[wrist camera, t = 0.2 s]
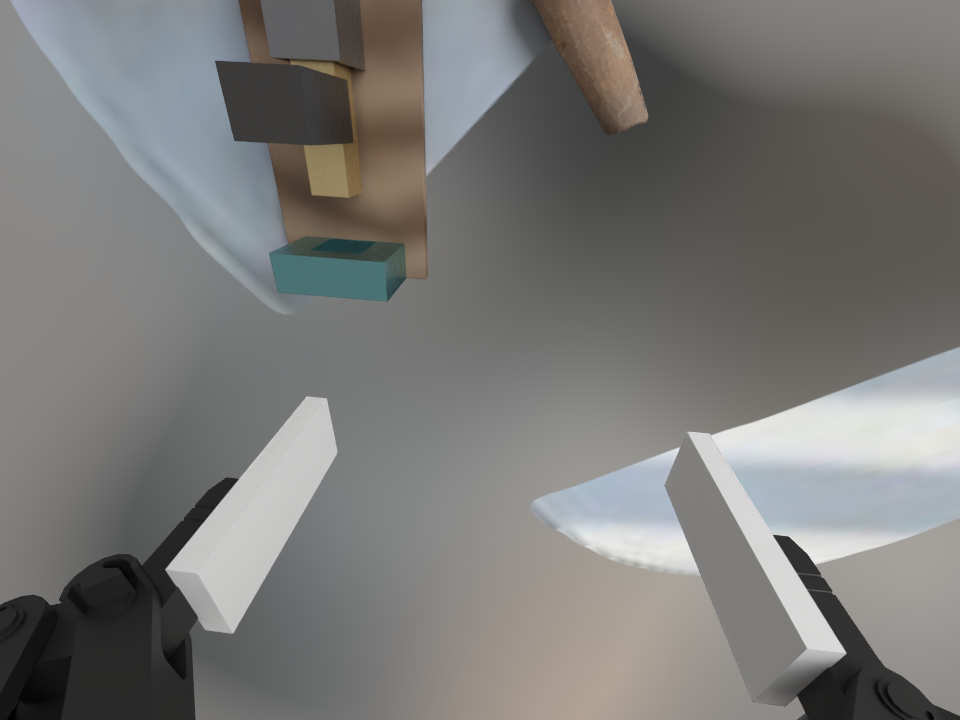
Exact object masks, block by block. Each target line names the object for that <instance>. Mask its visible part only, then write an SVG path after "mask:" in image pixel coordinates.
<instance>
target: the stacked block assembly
mask: <svg viewBox="0 0 960 720" xmlns="http://www.w3.org/2000/svg"><path fill="white" fill-rule="evenodd" d="M260 1H261V7H262V12H263V18H264V23H265V29H266V34H267V40H268V45H269V51H270V56H271V57H272V58H275V59H278V60H281V61H285V62H288V63H290V59H296V60H317V61H336V62H339V63H341V64H344V65H347V66H349V67H350V69H351V70H357V71H366V69H365V57H364V45H363V33H362V21H361V9H360V0H260ZM269 255H270V259H271V264H272V268H273V272H274V277H275V281H276V285H277V290H278V292H280V293H292V294H304V295H316V296H328V297H340V298H351V299H363V300H376V301H388V300H389V299H390V298H391V296H392V295H393V294H394V293H395V291H396V290H397V289H398V288H399V286H400V285H401V284H402V283H403V282H404V280H405V279H406V258H405V243H394V242H380V241H367V240H354V239H341V238H327V237H314V236H305V237H303V238H301V239H298V240H296V241H294V242H292V243H290V244H288V245H286V246H284V247H281V248H279V249H277V250H275V251H273V252H271V253H269Z"/></svg>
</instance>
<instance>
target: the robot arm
mask: <svg viewBox="0 0 960 720" xmlns="http://www.w3.org/2000/svg"><path fill="white" fill-rule="evenodd" d="M337 453H338V452H337V447H336V442H335V437H334V432H333V427H332V423H331V418H330V413H329V408H328V403H327V399H326V398H317V397H306V398H305V400H304V401H303V402H302V403H301V404H300V406H299V407H298V408H297V409H296V410H295V412H294V413H293V414H292V415H291V417H290V418H289V419H288V420H287V422H286V423H285V424H284V425H283V426H282V427H281V429H280V430H279V431H278V432H277V434H276V435H275V436H274V437H273V439H272V440H271V441H270V442H269V443H268V445H267V446H266V447H265V448H264V449H263V451H262V452H261V453H260V454H259V456H258V457H257V458H256V459H255V460H254V462H253V463H252V464H251V465H250V467H249V468H248V469H247V470H246V472H245V473H244V474H243V475H242V476H241V478H240V479H236V478H225V479H224V480H222V481H221V482H219V483H218V484H217V485H215V486H214V487H212V488H211V489H209V490H208V491H207V493H206V494H205V495H204V496H203V497H202V498H201V499H200V500H199V502H198V503H197V504H196V505H195V508H192V510H191V511H190V512H189V513H188V514H187V515H186V516H185V518H184V521H181V522H180V523H179V524H178V525H177V527H176V528H175V529H174V530H173V531H172V532H171V534H170V535H169V536H168V537H167V538H166V539H165V540H164V541H163V542H162V544H161V545H160V546H159V547H158V548H157V549H156V550H155V552H154V553H153V554H152V555H151V556H150V557H149V558H148V560H147V561H146V562H145V563H144V564H143V565H141V564H140V563H139V561H138V560H137V558H135V557H133V556H131V555H129V554H117V555H113V556H110V557H106V558H103V559H101V560H99V561H97V562H95V563H93V564H91V565H89V566H88V567H87V568H85V569H84V570H83V571H81V572H80V573H79V574H77V575H76V576H75V577H74V578H73V579H72V580H71V581H70V582H69V583H68V585H67V586H66V587H65V588H64V590H63V592H62V594H61V596H60V598H59V600H60V602H62V603H60V604H56V605H49V603H48V602H47V601H46V600H44V598H42V597H39V596H36V595H29V596H21V597H18V598H15V599H13V600H10V601H8V602H5V603H3V604H1V605H0V720H195V702H194V682H193V662H192V644H191V643H192V642H191V637H190V634H189V631H190V630H191V628H192V627H193V625H194V623H195V622H196V621H197V619H198V620H199V621H200V623H201V624H202V626H203V627H204V629H205V630H210V631H218V632H225V633H233V632H234V631H235V629H236V627H237V626H238V624H239V622H240V621H241V619H242V617H243V615H244V614H245V612H246V610H247V608H248V607H249V605H250V603H251V601H252V600H253V598H254V596H255V595H256V593H257V591H258V589H259V587H260V586H261V584H262V582H263V581H264V579H265V577H266V576H267V573H268V572H269V570H270V568H271V567H272V565H273V563H274V562H275V560H276V558H277V557H278V555H279V553H280V551H281V549H282V548H283V546H284V544H285V543H286V541H287V539H288V537H289V536H290V534H291V532H292V531H293V529H294V527H295V525H296V524H297V522H298V520H299V518H300V516H301V515H302V513H303V512H304V510H305V508H306V506H307V505H308V503H309V501H310V499H311V498H312V496H313V494H314V492H315V491H316V489H317V487H318V486H319V484H320V482H321V480H322V479H323V477H324V475H325V473H326V472H327V470H328V468H329V467H330V465H331V463H332V461H333V460H334V458H335V456H336V454H337ZM665 488H666V490H667V493H668V495H669V498H670V500H671V503H672V505H673V508H674V510H675V513H676V515H677V517H678V520H679V522H680V525H681V527H682V530H683V532H684V535H685V537H686V540H687V542H688V545H689V547H690V550H691V552H692V554H693V557H694V559H695V562H696V564H697V567H698V569H699V572H700V574H701V577H702V579H703V582H704V584H705V587H706V589H707V591H708V594H709V596H710V599H711V601H712V604H713V606H714V609H715V611H716V614H717V616H718V619H719V621H720V624H721V626H722V629H723V631H724V633H725V636H726V638H727V641H728V643H729V646H730V648H731V651H732V653H733V656H734V658H735V661H736V663H737V666H738V668H739V670H740V673H741V675H742V678H743V680H744V683H745V685H746V688H747V690H748V692H749V695H750V698H751V700H752V702H755V703H763V704H770V705H778V706H787V705H788V704H789V703H790V702H791V701H792V700H794V698H796V697H797V696H798V698H799V700H800V702H801V704H802V706H803V708H804V710H805V714H804V715H803V716H801V717H800V718H799V719H797V720H960V716H958V715H956V714H954V713H951V712H949V711H946V710H944V709H942V708H940V707H937V706H935V705H933V704H932V703H931V702H930V701H929V700H928V699H927V698H926V697H925V696H924V695H923V694H922V693H921V691H920V690H919V689H917V688H916V687H915V686H914V685H912V684H911V683H910V682H909V681H907V680H906V679H905V678H903V677H902V676H901V675H899V674H896V673H895V672H893V671H891V670H889V669H887V668H885V666H884V665H883V664H882V663H881V661H880V660H879V659H878V657H877V656H876V654H875V653H874V651H873V650H872V649H871V647H870V646H869V644H868V643H867V641H866V640H865V638H864V637H863V635H862V634H861V632H860V631H859V630H858V628H857V626H856V625H855V624H854V622H853V621H852V619H851V618H850V616H849V615H848V613H847V612H846V610H845V609H844V607H843V606H842V604H841V603H840V601H839V600H838V598H837V597H836V595H833V594H832V590H831V588H830V587H829V585H828V584H827V582H826V581H825V579H824V578H822V577H821V573H820V572H819V570H818V569H817V567H816V566H815V565H814V563H813V562H812V560H811V559H810V557H809V556H808V554H807V553H806V552H804V551H803V550H802V549H801V548H800V547H799V546H798V545H797V544H796V543H795V542H794V541H793V540H792V539H791V538H790V537H788V536H779V535H772V533H771V532H770V530H769V528H768V527H767V525H766V524H765V522H764V520H763V519H762V517H761V516H760V514H759V512H758V511H757V509H756V508H755V506H754V504H753V503H752V501H751V500H750V498H749V496H748V495H747V493H746V492H745V490H744V488H743V487H742V485H741V484H740V482H739V480H738V479H737V477H736V476H735V474H734V472H733V471H732V469H731V468H730V466H729V464H728V463H727V461H726V460H725V458H724V456H723V455H722V453H721V451H720V450H719V448H718V447H717V445H716V443H715V442H714V440H713V439H712V437H711V435H710V434H707V433H696V432H687V433H686V436H685V438H684V440H683V443H682V445H681V447H680V450H679V452H678V454H677V457H676V459H675V462H674V464H673V466H672V469H671V471H670V473H669V476H668V478H667V481H666V483H665Z"/></svg>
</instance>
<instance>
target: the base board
mask: <svg viewBox="0 0 960 720" xmlns="http://www.w3.org/2000/svg"><path fill="white" fill-rule="evenodd" d="M239 3H240V8H241V13H242V18H243V23H244V28H245V33H246V38H247V43H248V47H249V52H250V57H251V62H252V63H268V64H288V65H291V64H290V63H288V62H285V61H281V60H278V59H275V58H272V57H271V56H270V51H269V45H268V40H267V34H266V29H265V23H264V18H263V12H262V7H261V1H260V0H239ZM360 9H361V21H362V33H363V45H364V57H365V69H366V71H357V70H351V80H352V90H353V100H354V110H355V120H356V130H357V140H358V150H359V160H360V170H361V180H362V190H363V193H360V194H358V195H355V196H352V197H350V198H346V197H332V196H318V195H312V193H311V187H310V181H309V175H308V168H307V162H306V156H305V150H304V145H294V144H278V143H268V145H269V150H270V155H271V160H272V165H273V170H274V175H275V180H276V185H277V189H278V194H279V199H280V204H281V209H282V214H283V219H284V224H285V229H286V234H287V238H288V243H289V244H290V243H292V242H294V241H296V240H298V239H301V238H303V237H305V236H314V237H327V238H341V239H354V240H367V241H380V242H394V243H405V258H406V278H416V279H426V278H427V276H428V270H427V269H428V267H427V218H426V170H425V122H424V74H423V25H422V0H360Z"/></svg>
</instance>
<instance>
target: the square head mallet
mask: <svg viewBox="0 0 960 720" xmlns="http://www.w3.org/2000/svg"><path fill="white" fill-rule="evenodd" d="M215 63H216V67H217V71H218V75H219V79H220V84H221V88H222V92H223V96H224V100H225V104H226V108H227V112H228V116H229V121H230V125H231V129H232V133H233V137H234V141H246V142H262V143H278V144H294V145H304V150H305V156H306V162H307V168H308V175H309V181H310V187H311V193H312V195H318V196H332V197H346V198H350V197H352V196H355V195H358V194H360V193H363V190H362V180H361V170H360V160H359V150H358V140H357V130H356V120H355V110H354V100H353V90H352V80H351V69H350V67H349V66H347V65H344V64H341V63H339V62H336V61H317V60H296V59H290V64H291V65H288V64H268V63H248V62H228V61H215Z"/></svg>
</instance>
